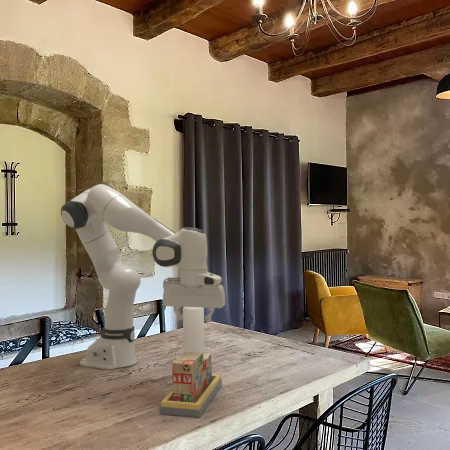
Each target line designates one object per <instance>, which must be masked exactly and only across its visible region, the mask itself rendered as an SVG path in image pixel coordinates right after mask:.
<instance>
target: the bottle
mask: <svg viewBox="0 0 450 450" xmlns="http://www.w3.org/2000/svg"><path fill="white" fill-rule="evenodd" d="M182 314H183V320H182V341H183V343H182V344H183V345H182V346H183V350H182V352H183V353H184V352H185V351H189V352H203V353H205V308H200V307H182ZM183 353H182V354H183Z"/></svg>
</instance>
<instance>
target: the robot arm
mask: <svg viewBox="0 0 450 450" xmlns="http://www.w3.org/2000/svg"><path fill="white" fill-rule="evenodd" d="M60 217H61V219H62V220H63V222H64V224H65V226H68V227H69V229H70V228H71V229H73V230H75V231H76V233H77V235H78V238H79V240H80V242H81V244H82V246H83V247H84V249H85V251H86V253H87V254H88V256H89V258H90V259H91V262H92V265H93V267H94V270H95V273H96V275H97V279H98V282H99V284H100V285H101V286H102V287H103V288H104V289H105V290H107V291H108V296H107V297H108V298H107V302H106V305H105V306H104V327H103V328H101V329H99V331H98V334H100V337H98V338H97V339H96V340H95V341H94V342H93V343H91V344H90V345H89V346H88V347H87V349H86V354H85V357H83V358H82V359H81V360H80V361H79V366H83V367H91V368H97V369H103V370H113V369H119V368H126V367H130V366H133V365H135V364H137V363H138V360H139V359H138V358H137V357H138V356H137V353H136V348H135V336H136V335H135V326H134V305H135V304H134V303H135V299H136V296H137V295H136V294H137V290H138V289H139V287H140V286H141V281H142V280H141V275H140V273H138V271H136V270H135V269H134V268H133V267H131V266H129V265H124V264H123V262H122V261H121V258H120V255H119V251H118V249H119V247H118V245H117V244H116V241H115V239H114V238H113V236H112V234H111V232H110V231H109V229H108V227H107V225H109V226H111V227H112V228H114V229H116V230H118V231H121V232H126V233H127V232H129V233H137V234H140V235H144V236H146V237H148V238H150V239H152V240H153V241H154V242H155V243H154V244H153V246H152V250H151V251H152V258H153V261H154V262H155V263H156V264H157V265H159V266H160V267H163V268H171V267H177V266H178V267H179V277H170V276H169V277H167V278H165V279H164V280H163V283H162V288H163V292H162V293H163V294H162V305H164V306H165V307H172V308H173V312H174V313H175V315H176V321H178V322H180V321H182V322H183V313H181V312H180V311H179V309H180V308H183V307H200V308H204V309H206V308H207V309H208V312H209V314H207V315H204V323H205V322H206V323H210V322H211V321H212V315H213V314H214V311H215V309H222V308H223V307H225V305H226V294H225V288H224V286H223V285H222V284H221V283H222V282H223V281H222V280H223V278H222V276H220V275H217V274H215V273H212V272H209V271H208V264H207V258H208V241H207V236H206V233H205V231H204V230H202V229H200V228H197V227H191V226H185V227H182V228H181V229H180V230H179V231H177V232H176V231H173V230H172V229H171V228H169V227H167V226H166V225H165V224H163V223H161V222H160V221H158V220H157V219H156V218H155V217H152V215H149V214H148V213H147V212H145V211H144V210H143V209H141V208H140V207H139V206H138V205H137V204H135V203H134V202H133V201H131V199H129V198H128V197H126V196H125V195H124V194H123V193H121V192H119V191H118V190H117V189H115V188H114V187H113V186H112V185H110V184H108V183H106V182H105V183H104V182H103V183H99V184H96V185H94V186H92V187H91V188H88V189H85V190H84V191H82V192H80V194H78V195H77V196H75V197H74V198H72V199H70V200H68V201H66V202H65V203H64V204H63V205H62V206H61V207H60ZM105 223H106V224H107V225H106V224H105Z"/></svg>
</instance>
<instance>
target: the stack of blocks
mask: <svg viewBox="0 0 450 450" xmlns="http://www.w3.org/2000/svg"><path fill="white" fill-rule="evenodd" d="M171 367H172V368H171V369H172V370H171V371H172V375H171V377H172V378H171V379H172V390H173V393H172V395H173V401H178V402H190V403H194V402H195V401H196V400H197V398H198V397H199V396H200V395H201V393H202V392H203V390H204V389H205V388H206V387H207V386H208V384H209V383H210V382H211V381H212V375H213V374H212V372H213V371H212V369H213V368H212V353H207V352H204V353H203V352H189V351H185V352H184V353H182V354H181V355H180V356H179V357H177V358H176V359H174V360H173V361H172V363H171Z"/></svg>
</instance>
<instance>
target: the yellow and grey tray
mask: <svg viewBox="0 0 450 450" xmlns="http://www.w3.org/2000/svg"><path fill="white" fill-rule="evenodd" d="M221 377H222V375H221V374H212V381H211V382H210V383H209V384H208V386H207V387H206V388H205V389H204V390H203V392H202V393H201V395H200V396H199V397H198V398H197V400H196V401H195V402H194V403H190V402H178V401H173V395H172V393H173V389H172V390H171V391H170V392H169V393H168V394H167V395H166V396H165V397H164V398H163V399H162V400H161V401H160V406H159V414H160V415H166V416H167V415H168V416H176V417H177V416H179V417H188V418H189V417H190V418H201V416H202V415H203V413H204V412H205V411H206V409H207V408H208V406H209V405H210V403H211V402H212V400H213V399H214V397H215V396H216V395H217V393H218V391H219V390H220V388H221V387H222V385H223V379H222V378H221Z"/></svg>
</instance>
